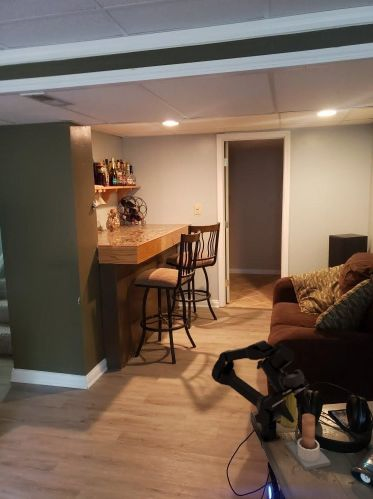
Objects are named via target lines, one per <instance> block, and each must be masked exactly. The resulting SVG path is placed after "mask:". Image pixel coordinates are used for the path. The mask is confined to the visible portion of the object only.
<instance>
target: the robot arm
mask: <svg viewBox="0 0 373 499" xmlns="http://www.w3.org/2000/svg"><path fill="white" fill-rule="evenodd" d="M244 359H245V360H246V359H249V360H250V361H257V365H256V370H260V369H262V371H263V373H264V375H265V376H266V378H267V379H268V382H267V384H268V386H270V385H271V386H272V387H273V389H274V390H275V392H274V393H268V394H266V395H264V394H262V393H261V392H259V390H257V389H256V388H255V387H253V386H252V385H250V384H249V383H247V382H246V381H245V380H243V379H242V378H241V377H239V376H238V375H237V373H236V371H235V363H234V361H238V360H244ZM294 360H295V353H294V351H293V350H292V349H290V347H288V346H285V345H284V344H283V343H280V344H278V345H276V346H273V345H272V344H269V343H268V342H267V341H266V340H260V341H257V342H254V343H252V344H250V345H248V346H245V347H241V348H235V349H228V350H225V351H222V352H221V353H220V354H219V356H218V359H217V360H216V362H215V363H214V365H213V367H212V370H211V378H212V379H213V380H214V382H217V383H218V384H220V385H223V386H228V387H230V389H232V390H234V391H235V392H236V393H237V394H239V395H240V396H242V397H243V398H244V399H245V400H246V401H248V402H249V403H251V405H253V406H254V407H255V409H256V411H257V413H256V414H254V418H255V422H256V423H258V424H260V429H258V430H256V433H257V434H258V436H259V438H261V440H262V441H263V442H264V443H267V442H268V443H269V442H272V441H278V440H280V439H281V436H280V434H278V433H277V432H278V431H277V426H278V425H277V422H278V420H279V419H281V416H283V417H285V418H286V419H288V420H289V421H290V422H292V423H293V422H295V421H294V419H293V417H292V415H291V413H290V411H289V410H288V408H287V406H286V399H285V400H282V399H283V398H284V397H286V396H288V395H289V394H291V393H294V394H295V395H294V397H295V398H296V401H297V402H298V403H299V404H300V405H301V406H302V408H303V409H305V411H307V413H310V412H312V410H311V407H310V403H309V399H308V394H307V393H308V390H309V385H310V382H309V381H308V379H306V378H305V374H304V373H303V371H302V370H301V369H298V368H297V369H295V370H294V371H293V373H292V374H289V373H288V372H287V371H283V370H282V369H284V368H286V367H287V366H288V365H290V363H292V362H293V361H294ZM288 390H289V391H288ZM283 392H284V394H283Z"/></svg>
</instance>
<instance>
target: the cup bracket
mask: <svg viewBox="0 0 373 499" xmlns="http://www.w3.org/2000/svg"><path fill="white" fill-rule="evenodd" d="M284 444H285V447H286V449H287V450H288V451H289V453H291V454H292V456H293V457H294V459H296V461H297V462H298V464H299V465H301V467H302V468H303V469H304V471H305V472H306V471H309V470H315V469H319V468H324V467H329V466H331V460H329V459H328V457H327V456H326V455H325V454H324V453H323V452H322V451H321V450H320V443H319V442H318V441H317V440H316V439H315V449H312V450H310V449H305V448H303V447H302V437H299V439H294V440H292V441H288V442H285V443H284Z"/></svg>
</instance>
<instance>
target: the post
mask: <svg viewBox="0 0 373 499" xmlns="http://www.w3.org/2000/svg"><path fill="white" fill-rule="evenodd" d="M301 417H302V418H301V420H302V421H301V422H302V423H301V438H302V447H303V448H305V449H310V450H312V449H315V440H316V438H315V437H316V416H315V415H313V414H312V413H304V414H302V415H301Z"/></svg>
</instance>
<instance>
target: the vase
mask: <svg viewBox="0 0 373 499" xmlns="http://www.w3.org/2000/svg"><path fill="white" fill-rule="evenodd" d="M288 391H289V390H288ZM283 394H284V392H283ZM294 395H295V394H294V393H291V394H289V395H288V396H286V397H284V398H283V399H282V400H285V399H286V406H287V408H288V410H289V411H290V413H291V415H292V417H293V419H294V421H295V422H293V423H292V422H290V421H289V420H288V419H286V418H285V417H283V416H281V418H280V423H281V425H282V426H283V427H286V428H294V427H296V426H297V425H298V413H297V409H298V408H297V399H296V398H295V397H294Z"/></svg>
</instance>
